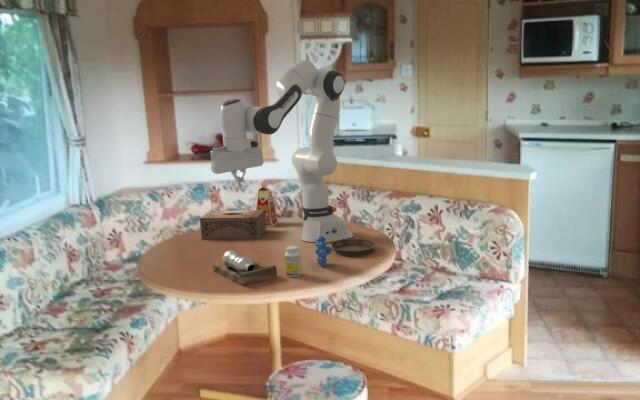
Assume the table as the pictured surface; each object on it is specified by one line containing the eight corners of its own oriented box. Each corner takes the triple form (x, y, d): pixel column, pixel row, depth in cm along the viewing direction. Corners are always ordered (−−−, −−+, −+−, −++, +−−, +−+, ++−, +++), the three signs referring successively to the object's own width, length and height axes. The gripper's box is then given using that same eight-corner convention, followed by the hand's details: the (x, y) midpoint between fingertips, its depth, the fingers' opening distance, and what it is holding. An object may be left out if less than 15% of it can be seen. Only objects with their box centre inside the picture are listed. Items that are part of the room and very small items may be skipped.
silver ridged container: (239, 256, 239) (263, 268, 222) (227, 269, 237) (250, 282, 220) (229, 245, 236) (253, 256, 219) (216, 258, 234) (239, 270, 217)
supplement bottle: (292, 271, 227) (291, 244, 225) (304, 274, 224) (302, 246, 222) (282, 275, 223) (280, 248, 221) (293, 278, 220) (292, 250, 218)
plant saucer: (351, 243, 261) (351, 236, 261) (384, 250, 249) (384, 242, 249) (322, 253, 249) (321, 245, 248) (355, 261, 237) (355, 253, 236)
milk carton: (273, 227, 294) (270, 185, 289) (254, 227, 295) (251, 185, 291) (278, 222, 302) (275, 181, 298) (259, 222, 304) (257, 181, 300)
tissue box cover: (265, 231, 288) (264, 209, 286) (258, 239, 274) (256, 217, 272) (211, 231, 292) (209, 210, 290) (201, 239, 278) (199, 218, 276)
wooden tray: (213, 270, 232) (212, 260, 232) (245, 262, 240) (245, 252, 239) (242, 285, 214) (241, 274, 214) (276, 276, 222) (276, 266, 221)
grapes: (336, 270, 227) (334, 238, 224) (317, 271, 226) (316, 239, 223) (331, 260, 238) (330, 230, 235) (313, 262, 237) (312, 231, 235)
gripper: (214, 149, 220) (218, 187, 223) (263, 141, 232) (267, 178, 235) (206, 148, 225) (210, 185, 228) (255, 140, 237) (258, 176, 240)
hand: (239, 181), depth 232 cm, fingers closed
